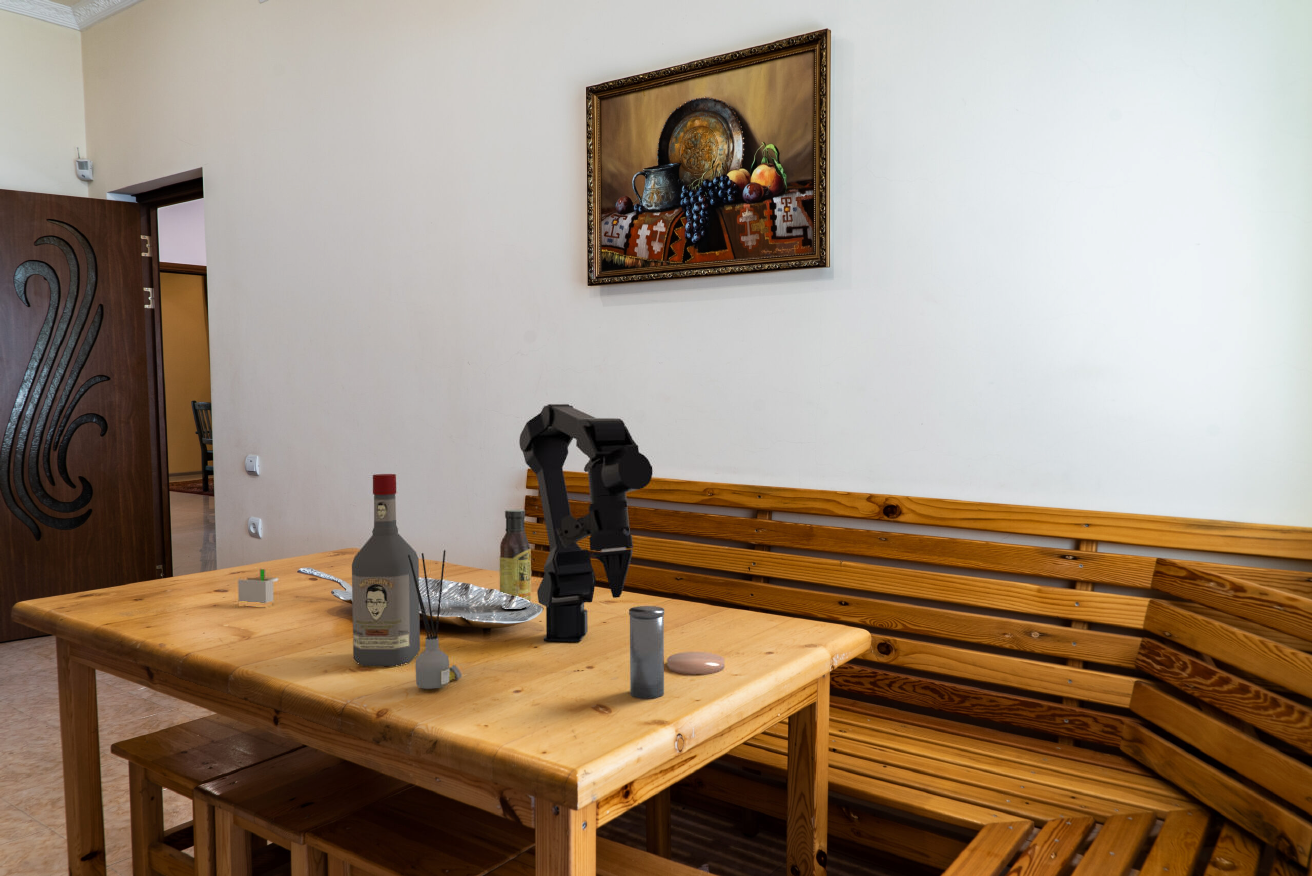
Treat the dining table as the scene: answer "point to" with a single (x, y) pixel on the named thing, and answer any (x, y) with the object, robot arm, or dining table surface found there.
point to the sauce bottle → (515, 557)
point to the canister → (646, 652)
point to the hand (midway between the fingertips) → (617, 596)
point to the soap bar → (695, 663)
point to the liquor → (385, 588)
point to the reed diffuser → (432, 647)
